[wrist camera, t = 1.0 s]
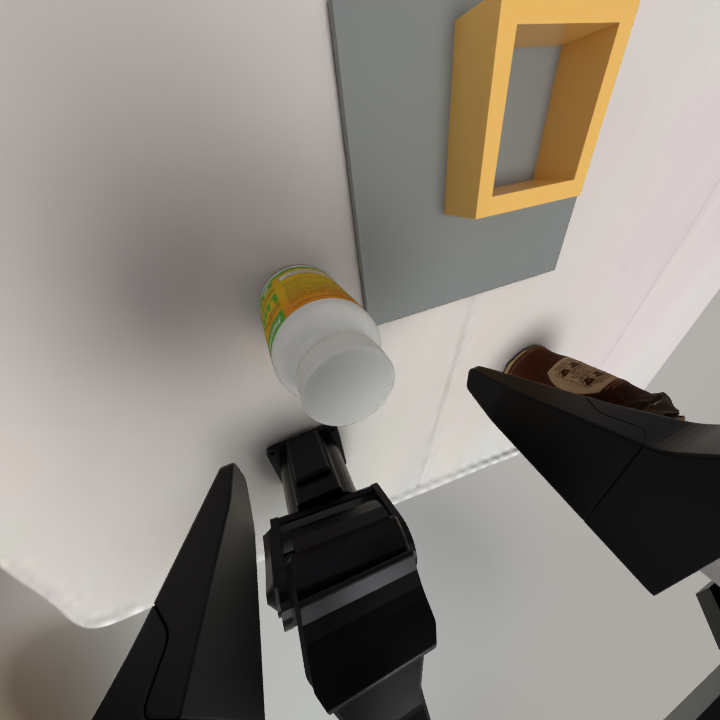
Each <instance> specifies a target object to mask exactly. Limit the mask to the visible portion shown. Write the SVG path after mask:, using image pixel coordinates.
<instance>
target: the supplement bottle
mask: <svg viewBox="0 0 720 720" xmlns="http://www.w3.org/2000/svg"><path fill="white" fill-rule="evenodd" d="M259 306H260V315H261V319H262V323H263V327H264V331H265V336H266V340H267V344H268V348H269V352H270V356H271V360H272V364H273V367H274V370H275V372H276V375H277V377H278V379H279V381H280V382H281V383H282V384H283V386H284V387H285V388H286V389H287V390H289V391H290V392H291V393H293V394H294V395H296V396H298V397H300V399H301V401H302V404H303V406H304V408H305V410H306V412H307V413H308V414H309V416H310V417H311V418H312V419H314V420H315V421H317V422H319V423H322V424H324V425H329V426H344V425H349V424H353V423H356V422H358V421H361V420H363V419H364V418H366V417H368V416H369V415H371V414H372V413H374V412H375V411H376V410H377V409H378V408H379V407H380V406H381V405H382V404H383V403H384V402H385V401H386V399H387V398H388V396H389V394H390V392H391V390H392V387H393V384H394V368H393V365H392V363H391V360H390V359H389V358H388V356H387V355H386V354H385V353H384V351H383V350H382V349H381V339H380V334H379V330H378V328H377V326H376V324H375V322H374V321H373V319H372V318H371V317H370V315H369V314H368V313H367V312H366V311H365V310H364V309H363V308H362V307H361V306H360V305H359V304H358V303H357V302H356V301H355V300H354V299H353V298H352V297H351V296H349V295H348V294H347V293H346V292H345V291H344V290H343V289H342V288H341V287H340V286H339V285H338V284H337V283H336V282H335V281H334V280H333V279H332V278H331V277H329V276H328V275H327V274H326V273H324V272H323V271H321V270H319V269H317V268H315V267H311V266H305V265H296V266H290V267H287V268H284V269H282V270H280V271H279V272H277V273H276V274H274V275H273V276H272V277H271V278H270V279H269V280H268V281H267V283H266V284H265V286H264V288H263V290H262V293H261V296H260V302H259Z"/></svg>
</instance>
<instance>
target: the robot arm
mask: <svg viewBox="0 0 720 720" xmlns="http://www.w3.org/2000/svg"><path fill="white" fill-rule="evenodd" d="M467 388H468V390H469V392H470V393H471V394H472V396H473V397H474V398H475V400H476V401H477V402H478V404H479V405H480V406H481V408H482V409H483V410H484V412H485V413H486V414H487V416H488V417H489V418H490V419H491V420H492V422H493V423H494V424H495V425H496V426H497V427H498V428H499V429H500V430H501V432H502V433H503V434H504V435H505V436H506V437H507V438H508V439H509V440H510V441H511V442H512V443H513V445H514V446H515V447H516V448H517V449H518V450H519V451H520V452H521V453H522V454H523V455H524V457H525V458H526V459H527V460H528V461H529V462H530V463H531V464H532V465H533V466H534V467H535V468H536V470H537V471H538V472H539V473H540V474H541V475H542V476H543V477H544V478H545V479H546V480H547V481H548V483H549V484H550V485H551V486H552V487H553V488H554V489H555V490H556V491H557V492H558V493H559V494H560V496H561V497H563V499H564V500H565V501H566V502H567V503H568V504H569V505H570V506H571V507H572V509H573V510H574V511H575V512H576V513H577V514H578V515H579V516H580V517H581V518H582V519H583V520H584V522H585V523H586V524H587V525H588V526H589V527H590V528H591V529H592V531H593V532H594V533H595V534H596V535H597V536H598V537H599V538H600V539H601V540H602V541H603V542H604V543H605V545H606V546H607V547H608V548H609V549H610V550H611V551H612V552H613V553H614V554H615V555H616V557H617V558H618V559H619V560H620V561H621V562H622V563H623V564H624V565H625V566H626V567H627V568H628V570H629V571H630V572H631V573H632V574H633V575H634V576H635V577H636V578H637V579H638V580H639V582H640V583H641V584H642V585H643V586H644V587H645V588H646V589H647V590H648V591H649V592H650V593H651V594H652V595H654V596H655V595H657V594H658V593H660V592H662V591H664V590H665V589H667V588H669V587H671V586H672V585H674V584H676V583H678V582H679V581H681V580H683V579H684V578H686V577H688V576H690V575H691V574H693V573H695V572H697V571H698V570H700V571H701V572H702V573H703V574H704V575H706V576H707V577H708V578H709V579H711V580H712V581H711V582H709V583H708V584H707V585H706V586H705V587H704V588H702V589H701V590H700V591H699V592H698V593H696V596H697V598H698V601H699V603H700V605H701V608H702V610H703V612H704V614H705V617H706V619H707V622H708V624H709V627H710V629H711V631H712V634H713V636H714V638H715V641H716V643H717V645H718V648H719V649H720V425H716V424H715V425H714V424H700V423H693V422H688V421H683V420H679V419H674V418H670V417H666V416H661V415H657V414H653V413H649V412H644V411H640V410H636V409H632V408H627V407H623V406H619V405H615V404H612V403H608V402H604V401H601V400H597V399H593V398H590V397H587V396H585V397H584V396H583V395H579V394H576V393H572V392H569V391H565V390H562V389H558V388H555V387H551V386H548V385H544V384H541V383H537V382H534V381H530V380H527V379H524V378H520V377H517V376H513V375H510V374H506V373H503V372H499V371H496V370H492V369H489V368H485V367H482V366H477V367H474V368H472V369H470V370H469V373H468V380H467ZM331 428H332V429H331ZM273 451H274V452H273ZM267 456H268V458H269V460H270V462H271V464H272V466H273V467H274V469H275V471H276V473H277V475H278V477H279V478H280V480H281V482H282V484H283V488H284V494H285V499H286V505H287V510H288V515H286V516H283V517H280V518H278V517H276V518H273V519H270V523H271V529H269V531H268V532H267V533H266V534H265V535H264V536H263V541H264V551H265V564H266V597H267V604H268V605H269V606H271V607H272V608H274V609H275V610H277V611H278V616H279V618H281V617H282V620H283V626H284V631H285V632H286V631H288V630H290V629H293V628H294V627H295V626H297V625H298V631H299V637H300V643H301V649H302V656H303V662H304V668H305V674H306V678H307V680H308V681H309V683H310V684H311V686H312V687H313V689H314V693H315V695H316V696H317V698H318V700H319V701H320V702H321V704H322V706H323V707H324V709H325V710H326V712H327V713H328V714H329V715H331V714H332V713H334V714H335V715H336V716H337V718H338V719H339V720H430V716H429V713H428V709H427V706H426V703H425V699H424V695H423V691H422V688H421V681H422V670H423V659H424V655H425V654H427V653H428V652H430V651H431V650H433V649H434V648H436V644H437V643H436V642H437V641H436V622H435V618H434V616H433V613H432V611H431V608H430V605H429V603H428V600H427V598H426V595H425V593H424V590H423V587H422V584H421V581H420V578H419V574H418V571H417V567H416V565H417V555H416V549H415V545H414V541H413V539H412V536H411V533H410V531H409V529H408V527H407V525H406V523H405V521H404V519H403V518H402V516H401V515H400V514H399V512H398V511H397V509H396V508H395V507H394V505H393V504H392V503H391V501H390V500H389V498H388V497H387V496H386V494H385V493H384V492H383V490H382V489H381V487H380V486H379V485H378V483H374V484H372V485H371V486H369V487H366V488H363V489H361V490H358V491H356V489H355V487H354V484H353V482H352V479H351V477H350V475H349V472H348V470H347V467H346V465H345V464H346V459H345V455H344V452H343V448H342V444H341V440H340V436H339V432H338V428H337V426H329V425H324V426H322V427H319V428H317V429H314V430H311V431H309V432H306V433H304V434H301V435H299V436H296V437H294V438H291V439H289V440H286V441H283V442H281V443H278V444H276V445H273V446H271V447H269V448H268V449H267ZM256 564H257V563H256V544H255V530H254V523H253V517H252V512H251V506H250V500H249V494H248V489H247V483H246V480H245V477H244V475H243V474H242V472H241V471H240V469H239V468H238V466H237V465H236V464H235V463H231V464H228V465H226V466H223V467H221V468H220V470H219V471H218V473H217V476H216V478H215V480H214V482H213V484H212V486H211V488H210V490H209V492H208V494H207V496H206V498H205V500H204V502H203V504H202V506H201V508H200V510H199V512H198V514H197V516H196V518H195V520H194V522H193V524H192V527H191V529H190V531H189V533H188V535H187V537H186V539H185V541H184V543H183V545H182V547H181V549H180V551H179V553H178V555H177V557H176V559H175V561H174V563H173V565H172V567H171V569H170V571H169V573H168V575H167V577H166V580H165V582H164V584H163V586H162V588H161V590H160V592H159V594H158V596H157V598H156V600H155V602H154V604H155V606H153V607H152V608H151V610H150V612H149V614H148V616H147V618H146V620H145V622H144V624H143V626H142V628H141V630H140V632H139V634H138V636H137V638H136V640H135V642H134V644H133V646H132V648H131V650H130V652H129V654H128V656H127V658H126V659H125V661H124V663H123V665H122V667H121V668H120V670H119V672H118V674H117V676H116V677H115V679H114V681H113V683H112V685H111V687H110V688H109V690H108V692H107V694H106V696H105V697H104V700H103V701H102V703H101V705H100V706H99V708H98V710H97V711H96V713H95V715H94V717H93V718H92V720H265V713H264V693H263V676H262V656H261V637H260V620H259V600H258V582H257V565H256ZM664 720H720V665H719V666H718V667H717V668H716V669H715V670H714V671H713V672H712V673H711V674H710V675H709V676H708V677H707V678H706V679H705V680H704V681H703V682H702V683H700V685H699V686H697V687H696V688H695V689H694V690H693V691H692V693H690V694H689V695H688V696H687V697H686V698H685V699H684V700H683V701H682V702H681V703H680V704H679V705H678V706H677V707H676V708H675V709H674V710H673V711H672V712H671V713H670V714H669V715H668V716H667V717H666V718H665V719H664Z"/></svg>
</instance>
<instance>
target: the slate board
mask: <svg viewBox="0 0 720 720" xmlns="http://www.w3.org/2000/svg"><path fill="white" fill-rule="evenodd" d="M482 1H484V0H328V9H329V18H330V26H331V34H332V43H333V51H334V59H335V68H336V76H337V84H338V93H339V101H340V110H341V118H342V126H343V135H344V143H345V151H346V160H347V168H348V176H349V185H350V193H351V202H352V210H353V218H354V227H355V235H356V243H357V252H358V260H359V268H360V277H361V285H362V294H363V302H364V310H365V311H366V312H367V313H368V314H369V315H370V317H371V318H372V319H373V321H374V322H375V324H376V326H377V325H381V324H384V323H387V322H390V321H393V320H396V319H400V318H403V317H406V316H409V315H412V314H416V313H419V312H422V311H425V310H428V309H432V308H435V307H438V306H441V305H444V304H448V303H451V302H454V301H457V300H460V299H463V298H467V297H470V296H473V295H476V294H479V293H483V292H486V291H489V290H492V289H495V288H499V287H502V286H505V285H508V284H511V283H514V282H518V281H521V280H524V279H527V278H530V277H534V276H537V275H540V274H543V273H546V272H550V271H553V270H555V267H556V264H557V260H558V257H559V254H560V251H561V247H562V244H563V241H564V238H565V234H566V231H567V228H568V224H569V221H570V218H571V215H572V211H573V208H574V205H575V202H576V198H577V196H575V197H570V198H566V199H562V200H557V201H553V202H549V203H544V204H540V205H536V206H531V207H527V208H523V209H518V210H514V211H510V212H505V213H501V214H497V215H492V216H488V217H484V218H479V219H470V218H463V217H457V216H451V215H445V214H444V205H445V188H446V171H447V153H448V136H449V118H450V101H451V83H452V66H453V49H454V31H455V20H456V19H458V18H459V17H461V16H462V15H464V14H465V13H466V12H468V11H469V10H471V9H472V8H474V7H475V6H476V5H478V4H479V3H481V2H482ZM561 47H562V46H541V47H519V48H514V49H513V56H512V63H511V69H510V76H509V83H508V90H507V97H506V104H505V111H504V118H503V124H502V131H501V138H500V145H499V152H498V159H497V166H496V172H495V179H494V186H493V188H494V187H499V186H504V185H509V184H514V183H519V182H524V181H529V180H533V177H534V172H535V168H536V163H537V159H538V154H539V149H540V145H541V140H542V135H543V131H544V126H545V122H546V117H547V112H548V108H549V103H550V98H551V94H552V89H553V84H554V80H555V75H556V71H557V66H558V61H559V57H560V52H561Z"/></svg>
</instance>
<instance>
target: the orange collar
mask: <svg viewBox="0 0 720 720" xmlns="http://www.w3.org/2000/svg"><path fill="white" fill-rule="evenodd" d="M639 3H640V0H484V1H482V2H481V3H479V4H478V5H476V6H475V7H474V8H472V9H471V10H469V11H468V12H466V13H465V14H464V15H462V16H461V17H459V18H458V19H456V20H455V31H454V49H453V66H452V83H451V101H450V118H449V136H448V153H447V171H446V188H445V205H444V214H445V215H451V216H457V217H463V218H470V219H479V218H484V217H488V216H492V215H497V214H501V213H505V212H510V211H514V210H518V209H523V208H527V207H531V206H536V205H540V204H544V203H549V202H553V201H557V200H562V199H566V198H570V197H575V196H579V195H580V193H581V190H582V187H583V184H584V180H585V177H586V174H587V171H588V168H589V164H590V161H591V158H592V155H593V151H594V148H595V145H596V142H597V139H598V135H599V132H600V129H601V126H602V122H603V119H604V116H605V113H606V110H607V106H608V103H609V100H610V97H611V93H612V90H613V87H614V84H615V81H616V77H617V74H618V71H619V68H620V64H621V61H622V58H623V55H624V51H625V48H626V45H627V42H628V39H629V35H630V32H631V29H632V26H633V22H634V19H635V16H636V13H637V10H638V6H639ZM541 46H562V47H561V52H560V57H559V61H558V66H557V71H556V75H555V80H554V84H553V89H552V94H551V98H550V103H549V108H548V112H547V117H546V122H545V126H544V131H543V135H542V140H541V145H540V149H539V154H538V159H537V163H536V168H535V172H534V177H533V180H529V181H524V182H519V183H514V184H509V185H504V186H499V187H494V188H493V186H494V179H495V172H496V166H497V159H498V152H499V145H500V138H501V131H502V124H503V118H504V111H505V104H506V97H507V90H508V83H509V76H510V69H511V63H512V56H513V49H514V48H519V47H541Z"/></svg>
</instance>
